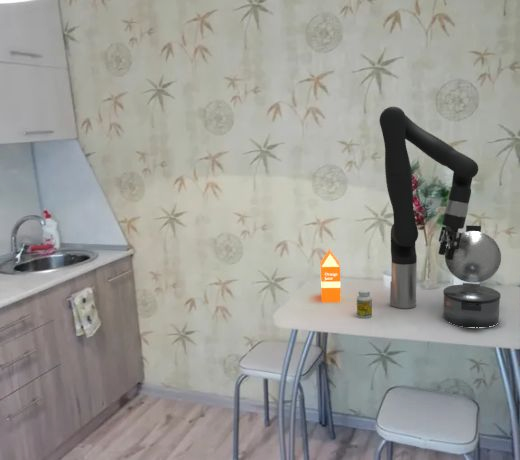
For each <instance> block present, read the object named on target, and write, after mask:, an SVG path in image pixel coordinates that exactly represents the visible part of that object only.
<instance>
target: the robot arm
mask: <svg viewBox="0 0 520 460" xmlns="http://www.w3.org/2000/svg"><path fill="white" fill-rule="evenodd" d="M378 122H379V126H380V128H381V133H382V138H383V143H384V169H385V171H384V172H385V181H386V188H387V193H388V197H389V201H390V203H391V207H392V212H393V214H392V215H393V224H392V225H391V228H390V255H391V256H390V257H391V280H390V283H389V284H390V285H389V286H390V287H389V288H390V293H389V296H390V297H389V298H390V299H389V300H390V301H389V302H390V307H395V308H397V309H413V308H416V306H417V269H418V268H417V262H418V261H417V260H418V259H417V257H418V255H417V251H416V242H417V240H418V238H419V229H418V225H417V222H416V221H417V220H416V216H415V210H414V209H415V208H414V190H413V189H414V187H413V174H412V166H411V162H410V158H409V157H410V156H409V152H408V148H407V145H406V142H407V141H408V142H409V143H410V144H412V145H414V146H415V147H416V148H417V149H419V150H420V151H421V152H423V153H424V154H425V155H427V156H428V157H429V158H431V159H432V160H434V161H435V162H437V163H438V164H440V165H442V166H444V167H447V168H448V169H450V170H451V171H452V172H453V173H452V183H451V187H450V190H449V191H450V192H449V195H448V199H447V203H446V205H445V209H444V213H443V217H442V222H441V224H442V227H441V231H440V234H439V237H438V242H439V244H440V246H439V249H438V255H441V256H445V251H446V248H447V246H448V248H449V249H448V252H447V256H446V259H448V260H453V256H454V252H455V250H456V249H458V248H459V244H460V239H461V235H462V233H463V232H459V229H460V230H462V229H464V228H465V224H466V219H467V215H468V210H469V204H470V203H469V202H470V199H471V195H472V189H471V188H472V187H471V186H472V181H473V178H474V177H476V176H477V174H478V173H479V165H478V163H477V162H476V161H475V160H474V159H473V158H471V157H469V156H468V155H465V154H463V153H461V152H460V151H458V150H456V149H455V148H454V147H453V146H451V145H449V144H448V143H446V142H445V141H444V140H442V139H441V138H439V137H437V136H435V135H433V133H430V132H428V131H426V130H425V129H423V128H422V127H420V126H419V125H418V124H416V123H415V122H414V121H412V120H411V119H410V118H409V117H408V116H407V115H406V114H405V112H404V111H403V109H401V108H400V107H398V106H389V107H387V108H385V109H384V110H383V111H382V112H381V113H380V116H379V121H378ZM406 140H407V141H406ZM456 244H457V246H456Z"/></svg>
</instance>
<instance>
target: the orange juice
mask: <svg viewBox="0 0 520 460" xmlns="http://www.w3.org/2000/svg"><path fill="white" fill-rule="evenodd" d="M320 287H321V288H320V292H321V293H320V294H321V296H320V297H321V303H341V302H342V301H341V299H342V298H341V264H340V261H339V260H338V259H337V257H336V256H335V255H334V254H333V252H332V251H331V249H330V248H329V249H328V251H327V252H326V253H325V255H324V256H323V258H322V259H321V260H320Z"/></svg>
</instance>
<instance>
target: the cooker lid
mask: <svg viewBox="0 0 520 460" xmlns="http://www.w3.org/2000/svg"><path fill="white" fill-rule="evenodd" d="M461 233H462V235H461V239H460V244H459V248H458V249H456V250H455V252H454V256H453V260H448V259H446V256H447V252H448V249H449V248H448V245H446V246H447V247H446V251H445V255H444V260H445V265H446V267H447V269H448V271H449V272H450V273H451V274H452V275H453V276H454V277H455V278H456V279H458V280H460V281H463V282H464V283H474V284H478V283H482V282H485V281H487V280H489V279H490V278H492V277H493V276H494V275H495V274H496V273H497V271H498V270H499V269H500V266H501V263H502V253H501V252H502V251H501V249H500V247H499V245H498V243H497V241H496V240H494V239H493V238H492V237H491V235H488V234H486V233H484V232H482V226H481V225H465V231H464V232H461ZM456 246H457V244H456Z"/></svg>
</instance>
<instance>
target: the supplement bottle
mask: <svg viewBox="0 0 520 460" xmlns="http://www.w3.org/2000/svg"><path fill="white" fill-rule="evenodd" d="M357 293H358V295H357V297H356V316H357V317H359V318H361V319H369V318H371V317H372V315H373V307H372V306H373V299H372V296H371V294H370V293H371V292H370V290H369V289H364V288H363V289H359V290H358V292H357Z"/></svg>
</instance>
